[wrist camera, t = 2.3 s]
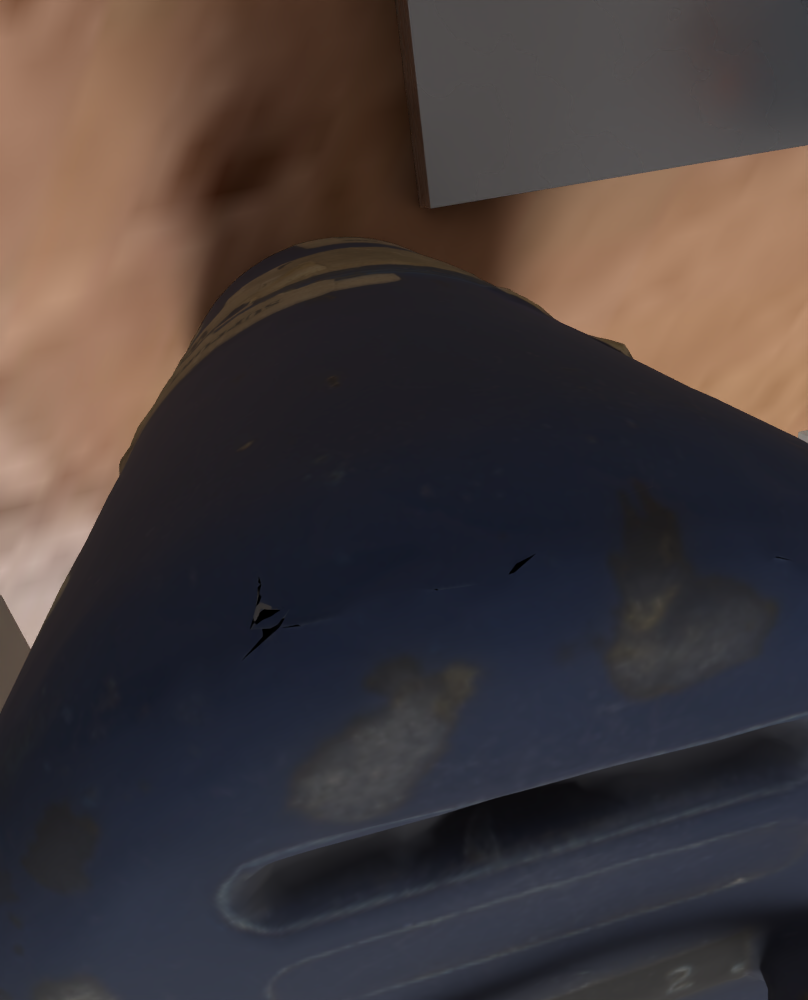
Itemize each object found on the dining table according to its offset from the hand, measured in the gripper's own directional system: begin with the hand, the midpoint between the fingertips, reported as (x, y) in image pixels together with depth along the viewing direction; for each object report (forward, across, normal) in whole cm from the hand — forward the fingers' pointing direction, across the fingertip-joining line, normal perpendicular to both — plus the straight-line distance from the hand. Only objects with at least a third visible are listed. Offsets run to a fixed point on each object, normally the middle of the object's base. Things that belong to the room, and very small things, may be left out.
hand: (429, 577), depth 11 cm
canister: (+11, 0, 0) cm, 11 cm away
